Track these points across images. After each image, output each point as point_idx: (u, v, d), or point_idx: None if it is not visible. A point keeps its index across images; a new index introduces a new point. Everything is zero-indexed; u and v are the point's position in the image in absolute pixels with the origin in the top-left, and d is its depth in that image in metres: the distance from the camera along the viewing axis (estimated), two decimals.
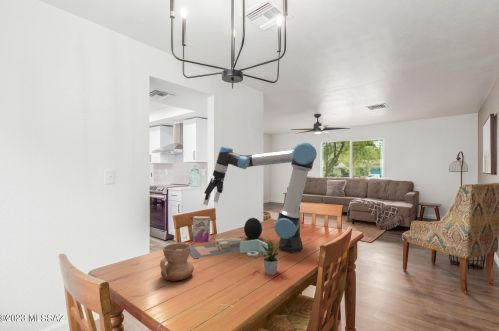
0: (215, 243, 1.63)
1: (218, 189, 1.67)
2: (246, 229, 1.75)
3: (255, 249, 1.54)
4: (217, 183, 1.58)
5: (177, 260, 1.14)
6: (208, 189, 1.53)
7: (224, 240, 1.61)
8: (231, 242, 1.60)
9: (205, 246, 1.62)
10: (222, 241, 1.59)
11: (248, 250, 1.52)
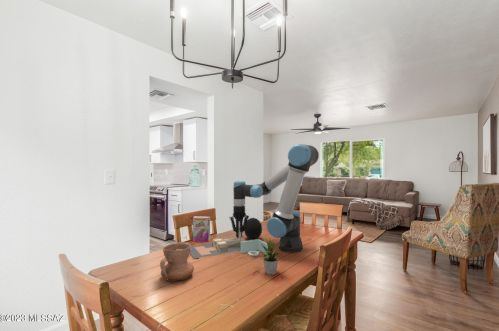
0: (213, 243, 1.62)
1: (240, 227, 1.66)
2: (246, 229, 1.75)
3: (256, 249, 1.54)
4: (238, 218, 1.63)
5: (177, 260, 1.14)
6: (233, 227, 1.64)
7: (222, 240, 1.61)
8: (229, 242, 1.60)
9: (205, 246, 1.62)
10: (220, 241, 1.58)
11: (249, 250, 1.52)
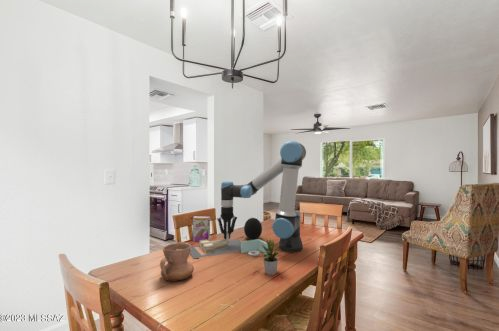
0: (200, 245, 1.58)
1: (228, 228, 1.62)
2: (246, 229, 1.75)
3: (256, 249, 1.54)
4: (225, 219, 1.60)
5: (177, 260, 1.14)
6: (220, 229, 1.60)
7: (209, 242, 1.57)
8: (216, 244, 1.56)
9: None
10: (207, 243, 1.55)
11: (249, 250, 1.52)
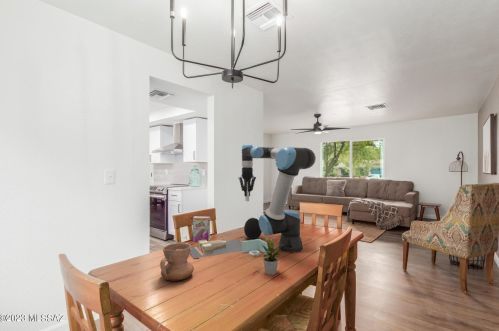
0: (199, 245, 1.58)
1: (248, 187, 1.80)
2: (246, 229, 1.75)
3: None
4: (246, 178, 1.78)
5: (177, 260, 1.14)
6: (241, 187, 1.78)
7: (208, 242, 1.56)
8: (215, 244, 1.56)
9: None
10: (206, 243, 1.54)
11: (250, 250, 1.52)
